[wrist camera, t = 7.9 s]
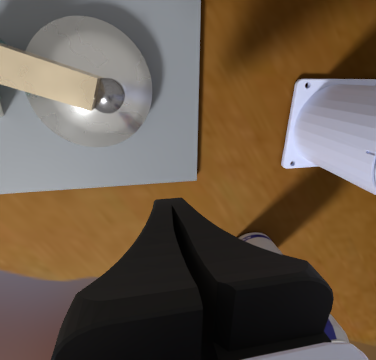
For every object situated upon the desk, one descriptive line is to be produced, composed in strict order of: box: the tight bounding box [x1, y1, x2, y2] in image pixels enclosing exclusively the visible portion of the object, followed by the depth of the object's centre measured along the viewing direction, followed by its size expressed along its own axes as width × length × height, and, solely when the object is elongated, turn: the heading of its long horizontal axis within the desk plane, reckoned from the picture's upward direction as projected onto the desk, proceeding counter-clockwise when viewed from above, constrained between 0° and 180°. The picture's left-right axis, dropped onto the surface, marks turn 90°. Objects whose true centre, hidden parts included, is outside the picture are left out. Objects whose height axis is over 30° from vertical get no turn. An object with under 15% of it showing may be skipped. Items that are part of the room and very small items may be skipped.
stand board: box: [0, 0, 201, 194], centre depth 18 cm, size 16×15×1 cm
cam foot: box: [0, 16, 152, 147], centre depth 15 cm, size 11×8×4 cm
